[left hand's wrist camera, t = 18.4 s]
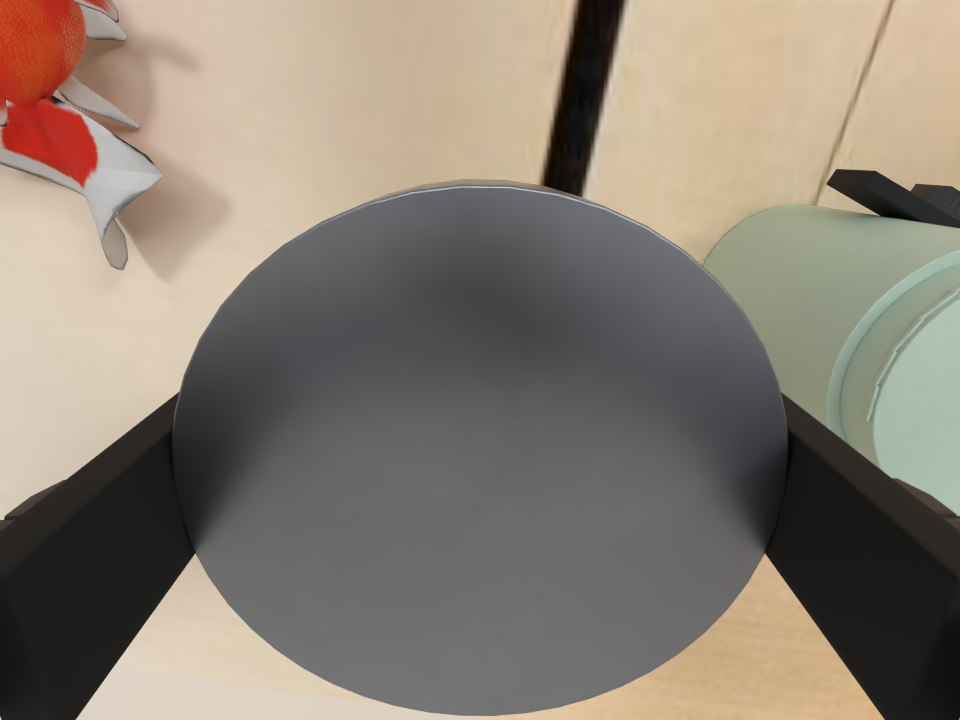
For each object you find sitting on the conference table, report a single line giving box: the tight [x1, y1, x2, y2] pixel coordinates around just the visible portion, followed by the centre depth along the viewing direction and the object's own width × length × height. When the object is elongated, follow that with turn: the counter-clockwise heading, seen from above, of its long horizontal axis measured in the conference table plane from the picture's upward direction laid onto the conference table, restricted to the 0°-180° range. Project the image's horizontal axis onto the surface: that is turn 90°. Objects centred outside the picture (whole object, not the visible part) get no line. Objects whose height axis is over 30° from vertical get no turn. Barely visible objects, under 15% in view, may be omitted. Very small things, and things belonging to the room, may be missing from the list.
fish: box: [0, 0, 164, 270], centre depth 25 cm, size 11×16×10 cm
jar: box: [703, 204, 960, 516], centre depth 25 cm, size 10×10×15 cm
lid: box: [171, 179, 789, 716], centre depth 11 cm, size 11×11×2 cm
